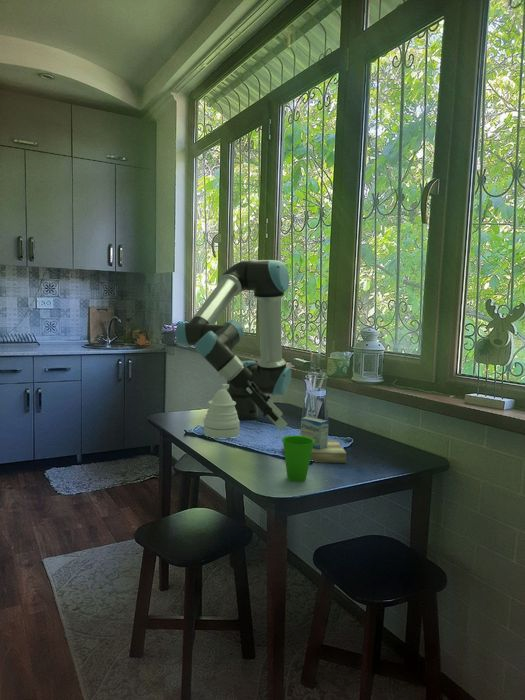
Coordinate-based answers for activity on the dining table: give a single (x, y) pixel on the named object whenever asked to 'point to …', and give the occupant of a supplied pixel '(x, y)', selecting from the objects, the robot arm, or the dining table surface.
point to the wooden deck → (329, 453)
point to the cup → (297, 456)
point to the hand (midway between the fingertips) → (282, 421)
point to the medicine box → (315, 431)
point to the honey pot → (222, 416)
